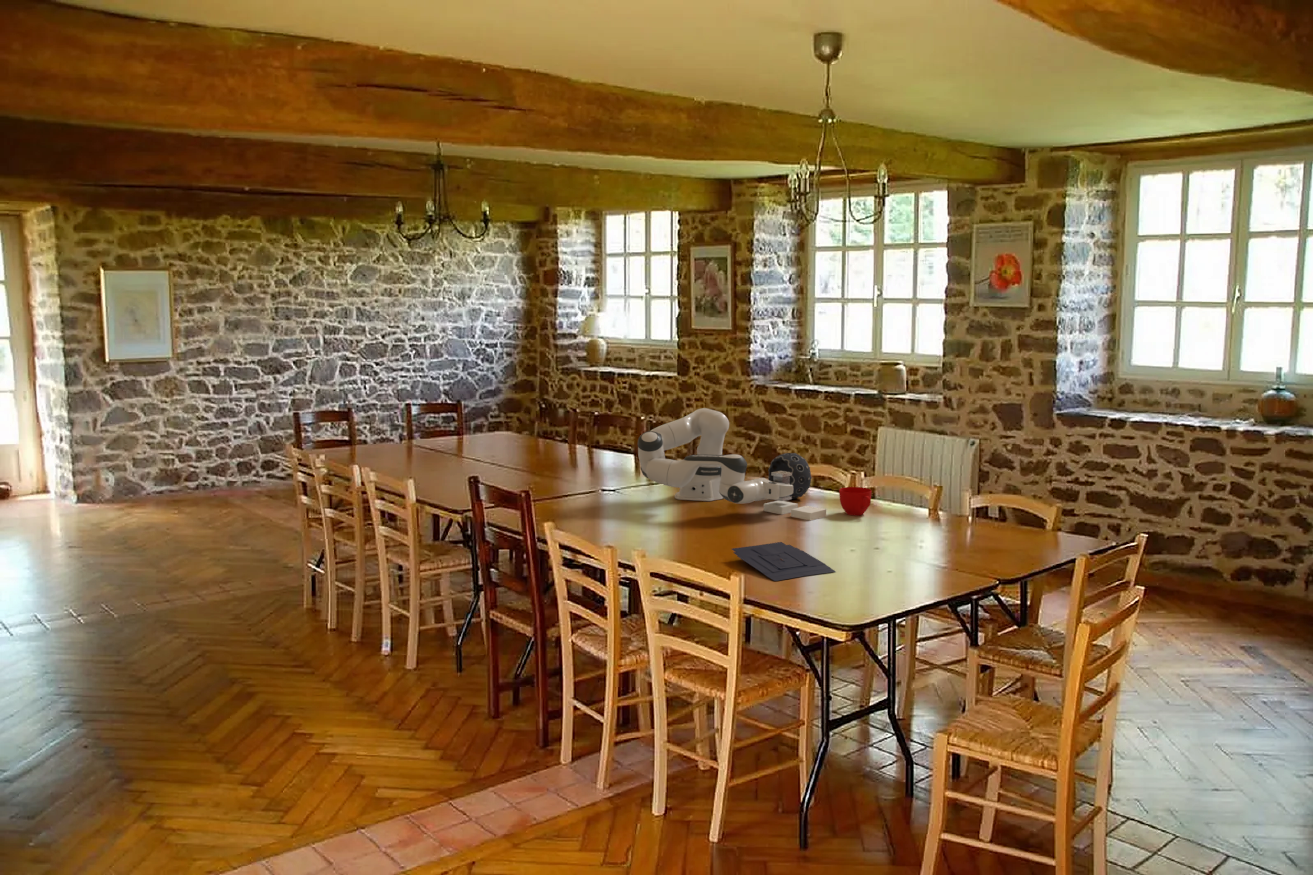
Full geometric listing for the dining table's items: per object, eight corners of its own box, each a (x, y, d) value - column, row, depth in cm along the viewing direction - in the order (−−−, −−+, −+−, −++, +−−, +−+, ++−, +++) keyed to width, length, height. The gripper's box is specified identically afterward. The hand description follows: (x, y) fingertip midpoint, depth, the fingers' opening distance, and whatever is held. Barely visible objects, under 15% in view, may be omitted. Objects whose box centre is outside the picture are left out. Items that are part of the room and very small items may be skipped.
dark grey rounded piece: (785, 493, 472) (785, 449, 469) (813, 501, 455) (814, 455, 452) (765, 495, 466) (766, 451, 463) (793, 503, 449) (794, 457, 446)
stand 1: (782, 514, 428) (782, 507, 428) (763, 510, 435) (763, 503, 435) (797, 510, 435) (797, 503, 435) (779, 507, 442) (779, 500, 442)
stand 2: (810, 520, 417) (810, 513, 417) (790, 516, 424) (791, 509, 424) (826, 516, 424) (826, 509, 424) (806, 512, 431) (806, 505, 431)
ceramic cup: (855, 520, 417) (855, 495, 415) (832, 512, 432) (833, 488, 431) (882, 517, 422) (883, 493, 420) (859, 509, 437) (860, 485, 436)
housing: (782, 501, 430) (782, 474, 429) (771, 499, 435) (771, 472, 433) (791, 499, 434) (791, 472, 433) (780, 497, 439) (780, 470, 437)
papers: (785, 548, 369) (786, 538, 368) (836, 579, 343) (837, 568, 342) (725, 557, 358) (726, 546, 357) (773, 589, 332) (774, 578, 331)
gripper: (741, 493, 433) (763, 488, 442) (779, 500, 418) (801, 495, 427) (741, 478, 432) (763, 473, 441) (779, 484, 417) (802, 480, 426)
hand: (782, 484), depth 434 cm, fingers closed on housing, 5 cm apart
